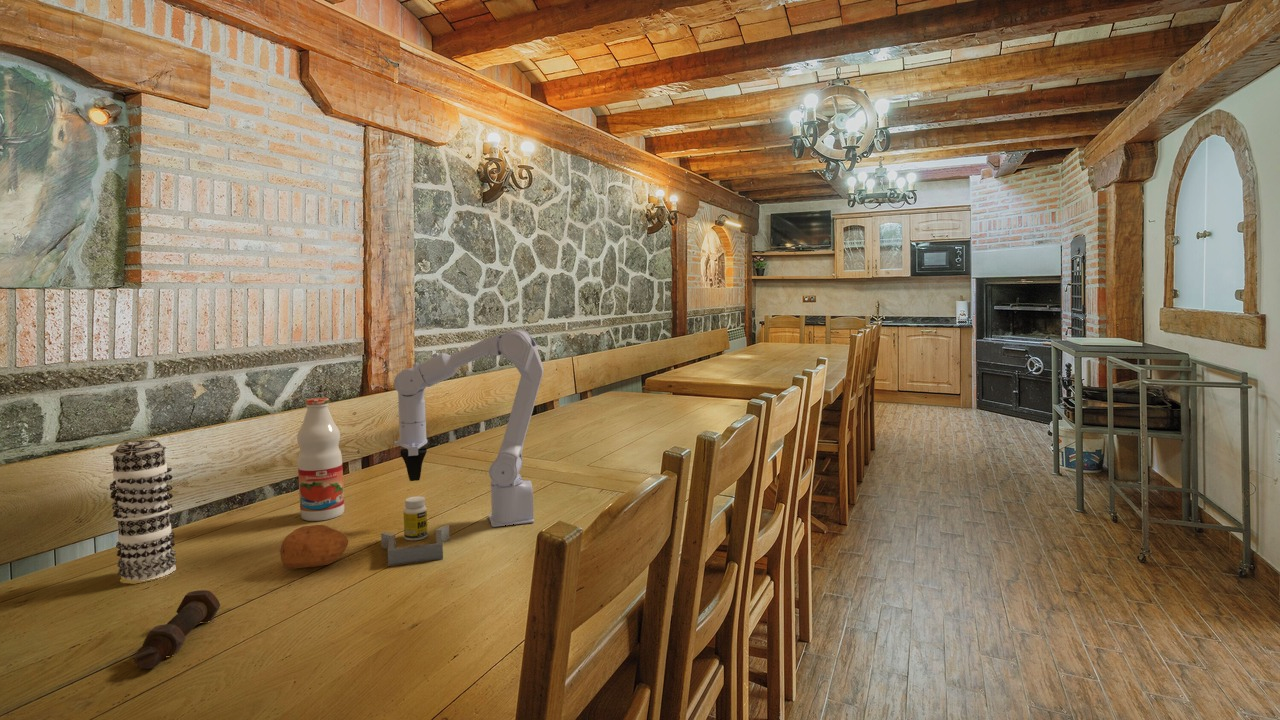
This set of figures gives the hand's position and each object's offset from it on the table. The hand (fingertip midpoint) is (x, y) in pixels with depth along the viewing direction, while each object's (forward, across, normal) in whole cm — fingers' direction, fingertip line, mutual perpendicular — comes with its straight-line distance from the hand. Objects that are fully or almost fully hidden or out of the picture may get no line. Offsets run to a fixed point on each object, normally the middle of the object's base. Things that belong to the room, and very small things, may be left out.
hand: (414, 480), depth 145 cm
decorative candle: (+10, +13, -47) cm, 50 cm away
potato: (+10, +19, -18) cm, 28 cm away
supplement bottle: (+10, +10, 0) cm, 14 cm away
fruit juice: (+10, -13, -21) cm, 27 cm away
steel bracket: (+10, +19, 0) cm, 21 cm away
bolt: (+10, +44, -33) cm, 56 cm away
